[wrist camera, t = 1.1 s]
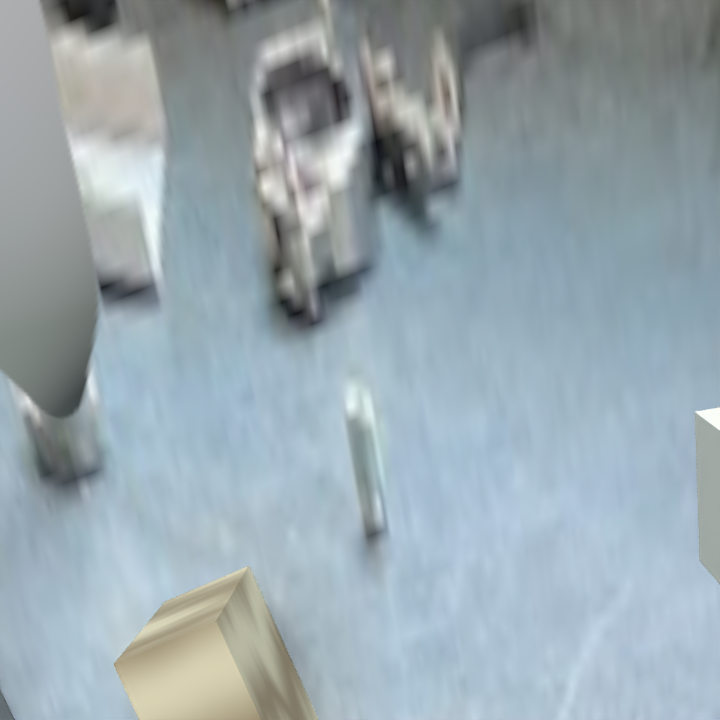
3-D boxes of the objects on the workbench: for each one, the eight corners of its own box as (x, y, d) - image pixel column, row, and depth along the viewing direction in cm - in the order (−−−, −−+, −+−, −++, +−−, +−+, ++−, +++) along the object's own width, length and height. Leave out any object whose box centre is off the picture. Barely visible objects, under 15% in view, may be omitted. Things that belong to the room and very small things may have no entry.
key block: (332, 749, 37) (319, 847, 30) (249, 783, 37) (216, 888, 30) (249, 565, 37) (215, 620, 30) (165, 600, 37) (113, 664, 30)
